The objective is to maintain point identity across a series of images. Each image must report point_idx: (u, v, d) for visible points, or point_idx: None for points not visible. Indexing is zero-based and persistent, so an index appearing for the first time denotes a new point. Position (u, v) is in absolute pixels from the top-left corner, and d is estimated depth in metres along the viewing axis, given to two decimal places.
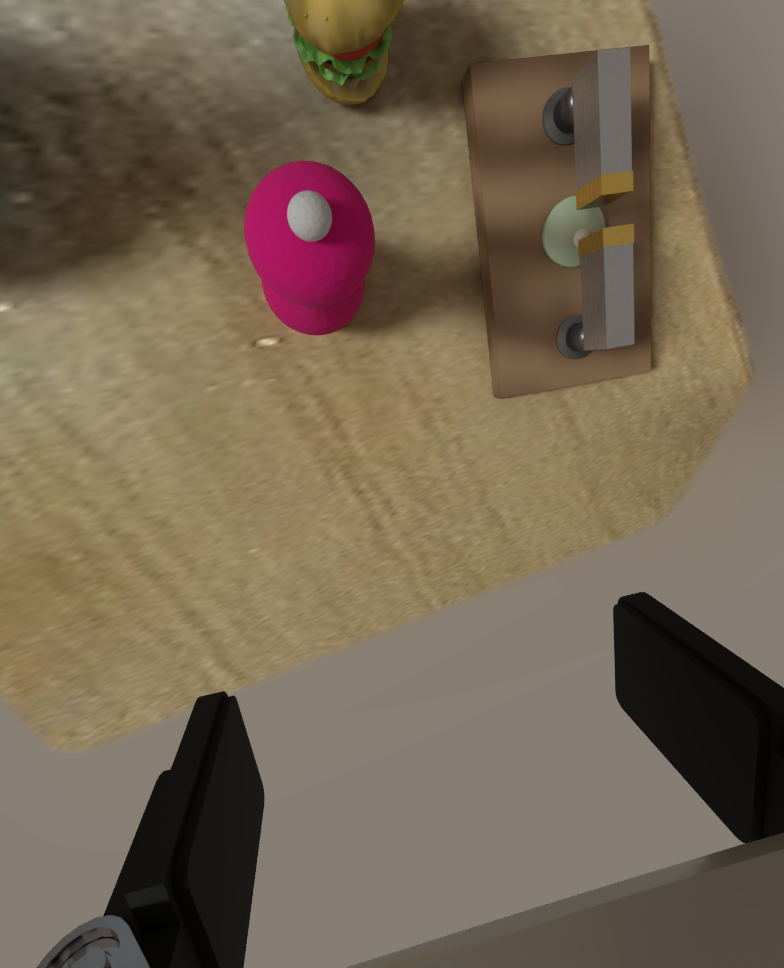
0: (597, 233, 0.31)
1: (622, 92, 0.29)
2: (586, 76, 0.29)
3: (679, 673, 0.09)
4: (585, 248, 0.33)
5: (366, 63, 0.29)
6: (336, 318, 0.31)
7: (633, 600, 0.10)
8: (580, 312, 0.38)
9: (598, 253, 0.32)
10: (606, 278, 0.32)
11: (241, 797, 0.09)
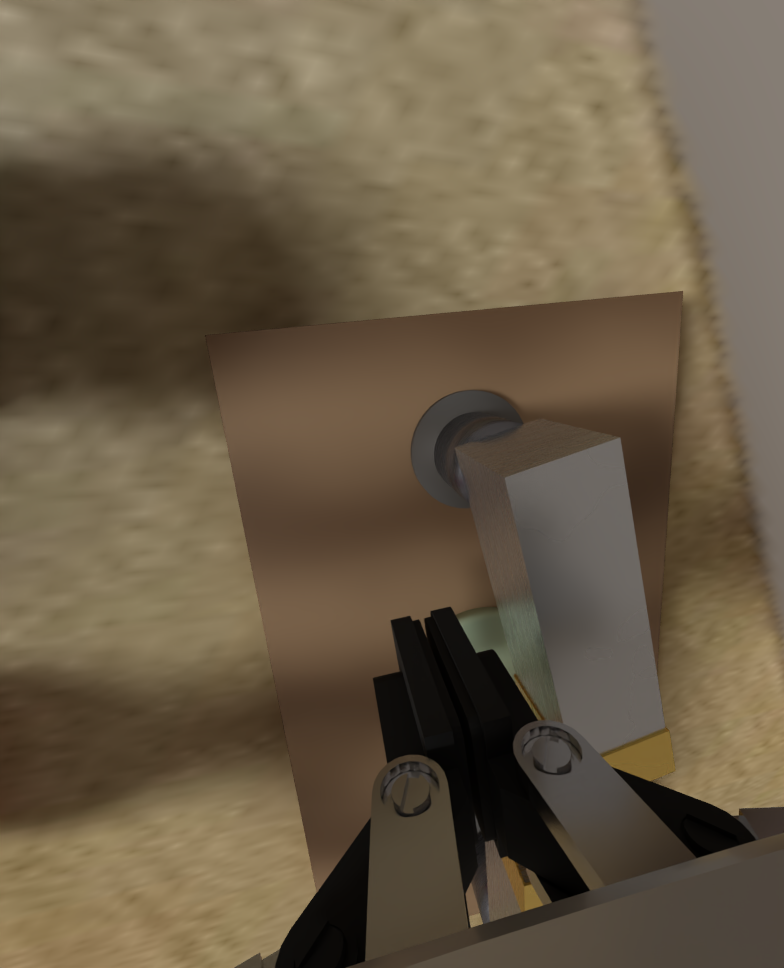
0: (513, 864, 0.11)
1: (610, 563, 0.09)
2: (487, 494, 0.09)
3: (447, 684, 0.10)
4: None
5: None
6: None
7: (435, 614, 0.11)
8: None
9: (515, 898, 0.11)
10: None
11: None
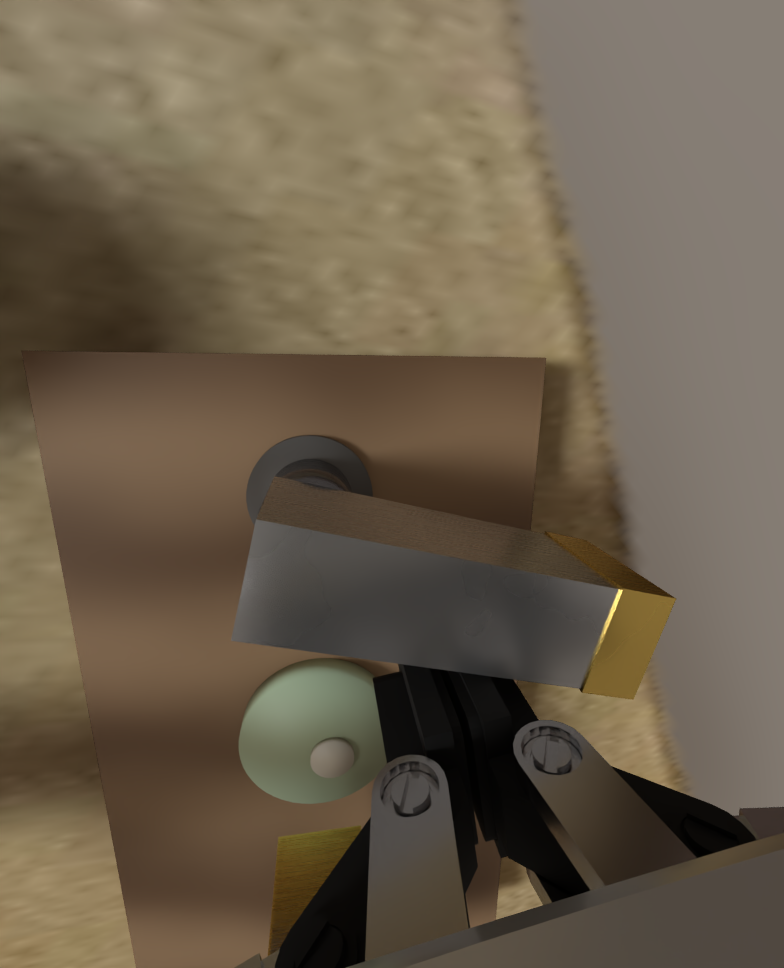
0: (268, 952, 0.10)
1: (388, 577, 0.08)
2: None
3: (447, 684, 0.10)
4: None
5: None
6: None
7: None
8: None
9: None
10: None
11: None
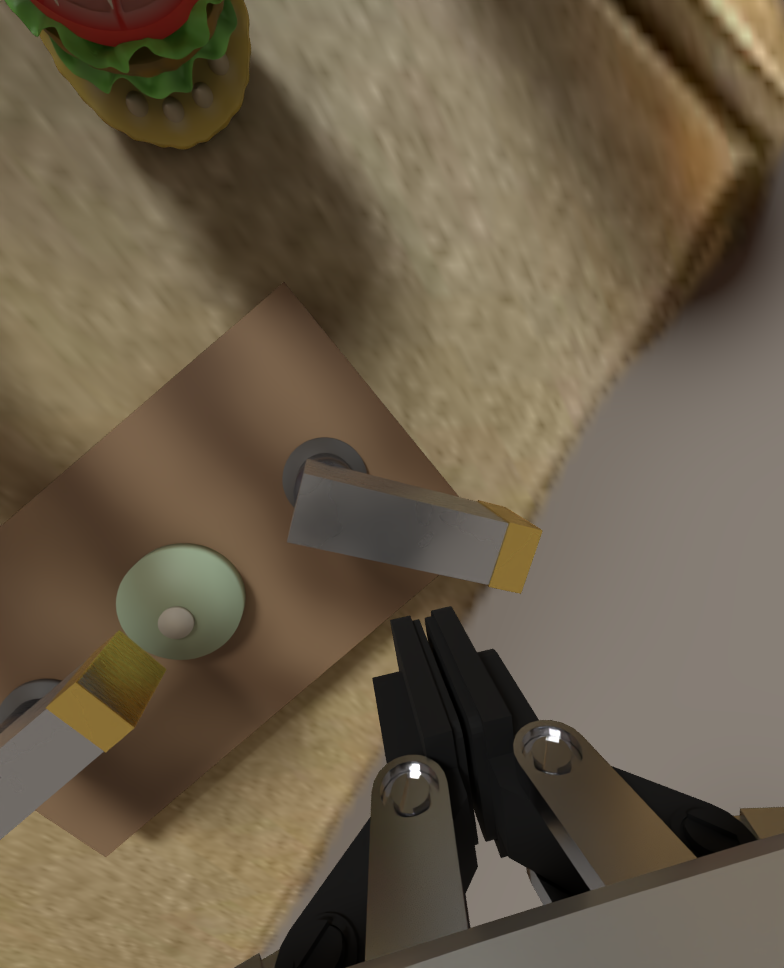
0: (80, 673, 0.14)
1: (374, 509, 0.14)
2: None
3: (448, 684, 0.10)
4: (90, 658, 0.16)
5: None
6: None
7: (436, 614, 0.11)
8: None
9: (52, 699, 0.14)
10: (1, 751, 0.14)
11: None
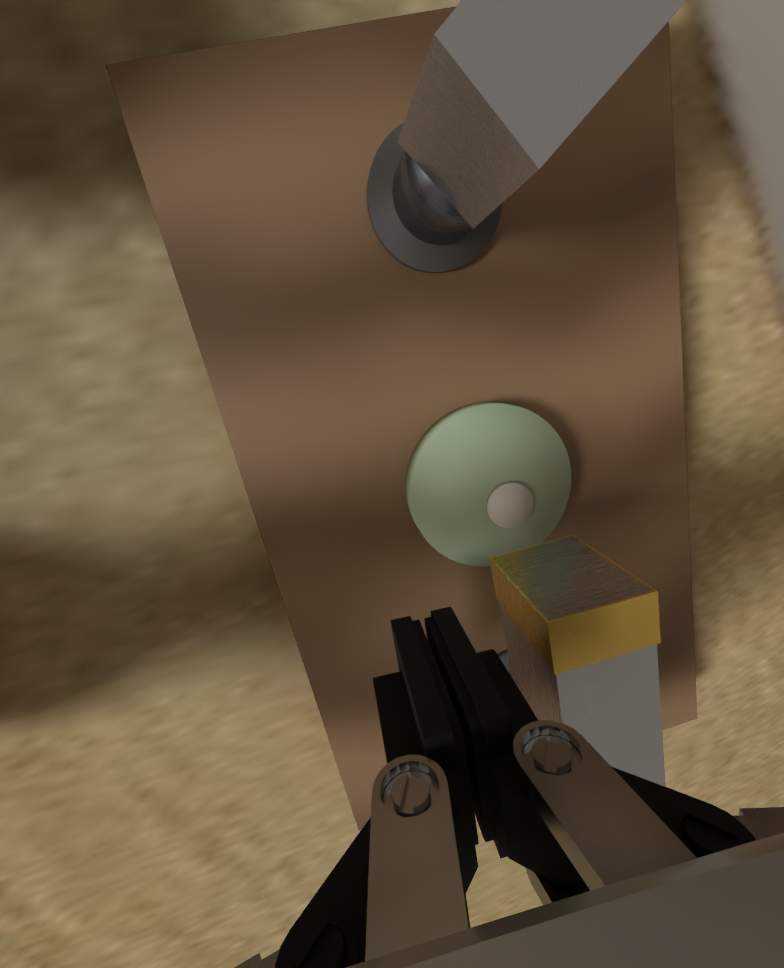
0: (533, 614, 0.09)
1: None
2: None
3: (447, 684, 0.10)
4: (508, 602, 0.11)
5: None
6: None
7: (435, 614, 0.11)
8: None
9: (542, 663, 0.10)
10: None
11: None
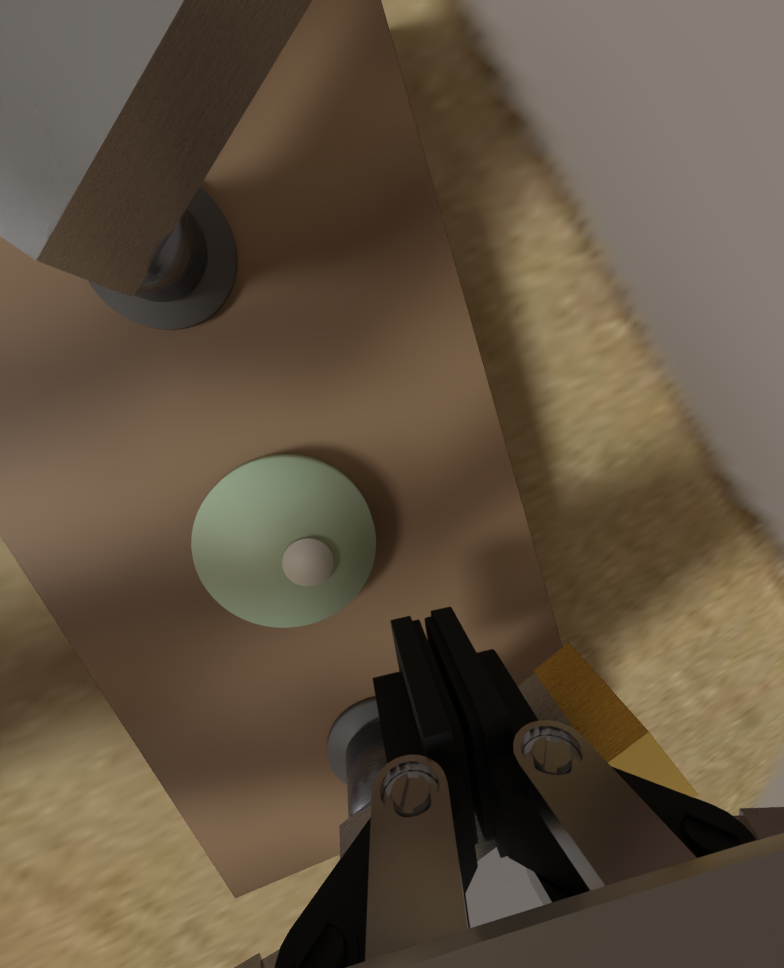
0: (622, 714, 0.10)
1: None
2: (109, 240, 0.07)
3: (448, 684, 0.10)
4: (563, 683, 0.11)
5: None
6: None
7: (436, 614, 0.11)
8: None
9: None
10: None
11: None
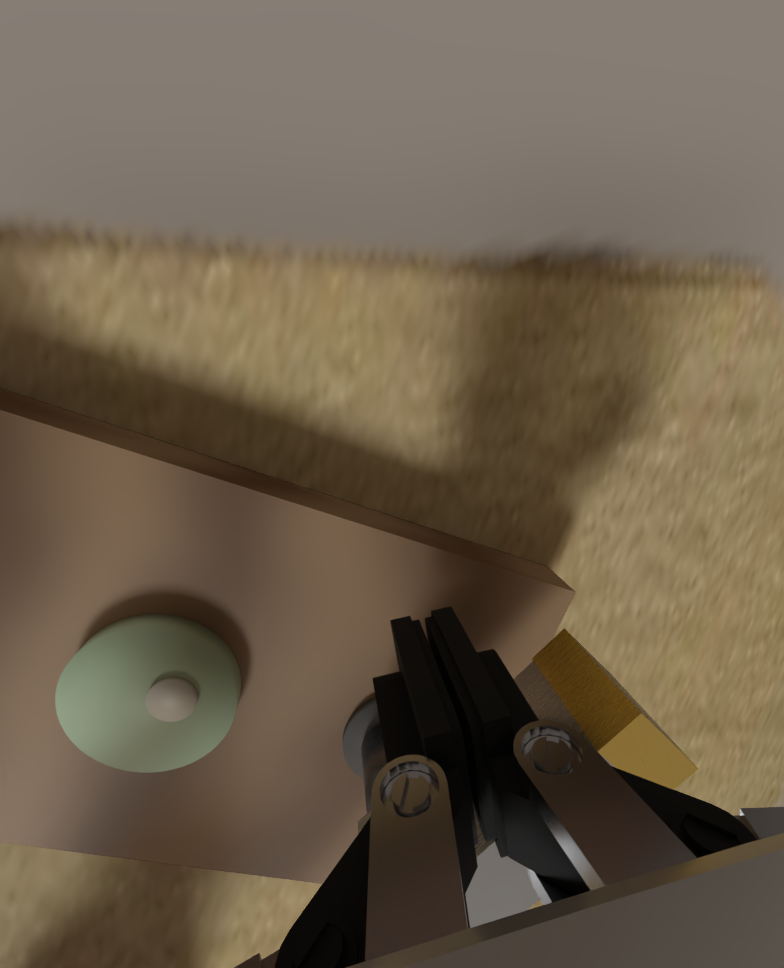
0: (616, 697, 0.10)
1: None
2: None
3: (448, 684, 0.10)
4: (560, 670, 0.11)
5: None
6: None
7: (436, 614, 0.11)
8: (347, 711, 0.15)
9: None
10: None
11: None
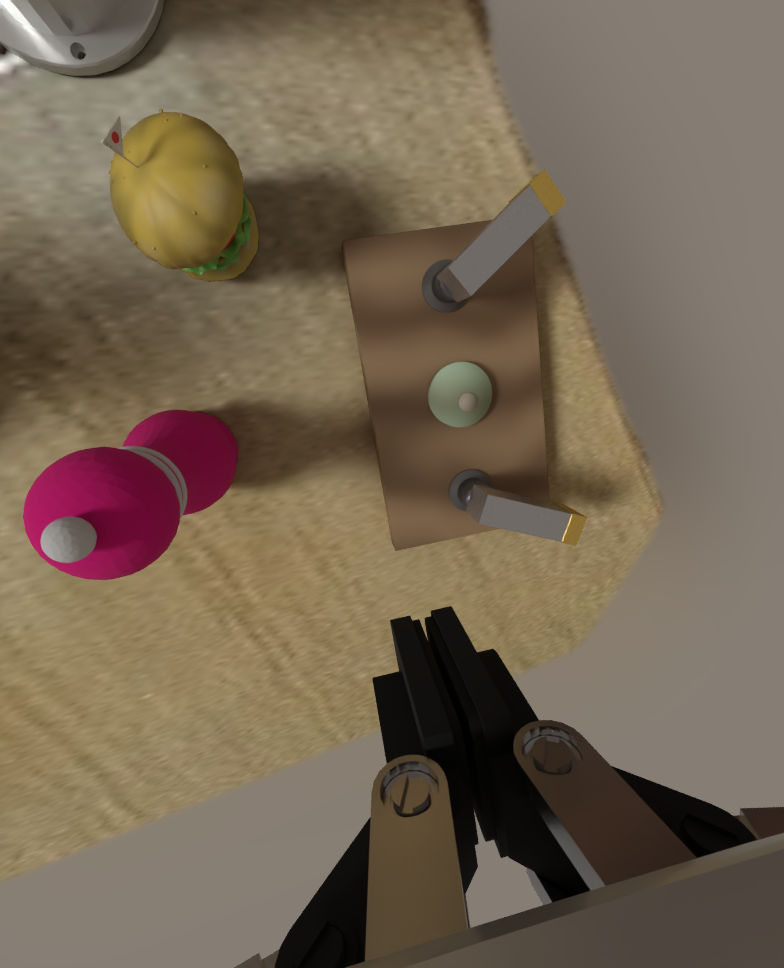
0: (580, 514, 0.34)
1: (481, 247, 0.28)
2: None
3: (448, 684, 0.10)
4: (562, 506, 0.35)
5: (221, 259, 0.28)
6: (198, 507, 0.30)
7: (436, 614, 0.11)
8: (473, 466, 0.38)
9: (564, 511, 0.34)
10: (547, 510, 0.33)
11: None
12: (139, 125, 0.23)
